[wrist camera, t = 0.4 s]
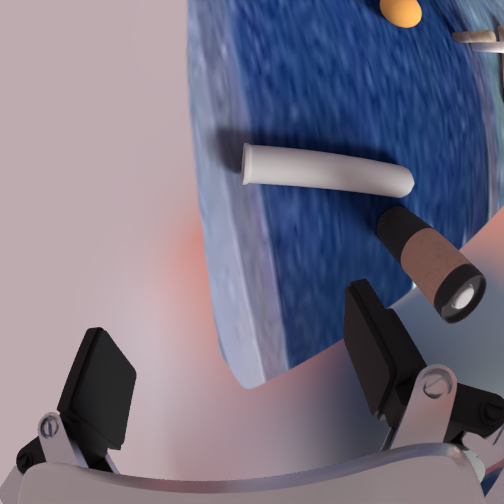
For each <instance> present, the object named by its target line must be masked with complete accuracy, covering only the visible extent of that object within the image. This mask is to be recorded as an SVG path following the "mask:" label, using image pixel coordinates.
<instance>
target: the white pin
mask: <svg viewBox="0 0 504 504" xmlns="http://www.w3.org/2000/svg"><path fill="white" fill-rule="evenodd" d="M470 46H471V48H472V50H473V51H475V52H498V53H504V42H471V43H470Z"/></svg>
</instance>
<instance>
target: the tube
mask: <svg viewBox="0 0 504 504" xmlns="http://www.w3.org/2000/svg"><path fill="white" fill-rule="evenodd" d="M241 180H242V184H243V185H247V183H261V184H277V185H291V186H304V187H315V188H325V189H335V190H344V191H353V192H361V193H369V194H377V195H384V196H391V197H398V198H401V197H403V196H405V195H407V194H408V193H410V192H411V190H412V187H413V185H414V180H413V177H412V174H411V173H410V171H409V170H408V169H407V168H405V167H403V166H400V165H395V164H390V163H385V162H380V161H375V160H370V159H365V158H359V157H353V156H347V155H341V154H334V153H327V152H319V151H312V150H303V149H294V148H284V147H273V146H260V145H250V144H249V143H244V147H243V156H242V173H241Z"/></svg>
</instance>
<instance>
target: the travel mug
mask: <svg viewBox="0 0 504 504" xmlns="http://www.w3.org/2000/svg"><path fill="white" fill-rule="evenodd" d="M377 234H378V237H379V239H380V240H381V242H382V243H383V244H384V245H385V247H386V248H387V249H388V250H389V252H390V253H391V254H392V255H393V257H394V258H395V259H396V260H397V262H398V263H399V264H400V266H401V267H402V268H403V270H404V271H405V272H406V273H407V274H408V276H409V277H410V278H411V279H412V280H413V282H414V283H415V284H416V285H417V286H418V288H419V289H420V290H421V291H422V293H423V294H424V295H425V296H426V298H427V299H428V300H429V302H430V303H431V304H432V305H433V307H434V308H435V309H436V311H437V312H438V313H439V314H440V316H441V317H442V319H443V320H444V321H445V322H446V323H448V324H454V323H457V322H459V321H461V320H463V319H464V318H466V317H467V316H468V315H469V314H470V313H471V312H472V311H473V310H474V309H475V308H476V307H477V305H478V304H479V302H480V301H481V299H482V298H483V295H484V293H485V290H486V284H487V282H486V279H485V277H484V275H483V274H482V273H481V272H480V271H479V270H478V269H477V268H476V267H475V266H474V265H473V264H472V263H471V262H470V261H469V260H468V259H466V257H465V256H464V255H463V254H462V253H460V252H459V251H458V250H457V249H456V248H455V247H454V246H453V245H452V244H451V243H450V242H449V241H447V240H446V239H445V238H444V237H443V236H442V235H441V234H440V233H438V232H437V231H436V230H435V229H434V228H432V227H431V226H430V225H428V224H427V223H426V222H424V221H423V220H422V219H420V218H419V217H417V216H416V215H415V214H413V213H412V212H411V211H409V210H408V209H406V208H404V207H401V206H394V207H391V208H389V209H388V210H387V211H385V212H384V213H383V215H382V216H381V217H380V219H379V222H378V225H377Z"/></svg>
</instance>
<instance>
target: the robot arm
mask: <svg viewBox="0 0 504 504" xmlns="http://www.w3.org/2000/svg"><path fill="white" fill-rule="evenodd" d="M344 342H345V345H346V347H347V350H348V353H349V355H350V358H351V360H352V363H353V366H354V368H355V371H356V373H357V376H358V379H359V381H360V384H361V387H362V389H363V392H364V395H365V398H366V400H367V403H368V406H369V408H370V411H371V414H372V415H373V416H376V415H377V417H378V420H379V421H381V420H384V419H386V420H387V422H388V425H389V426H390V427H391V428H390V431H389V433H388V435H387V438H386V440H385V442H384V444H383V446H382V448H381V450H380V452H379V453H375V454H372V455H368V456H365V457H361V458H358V459H354V460H351V461H347V462H343V463H339V464H335V465H331V466H327V467H322V468H318V469H313V470H308V471H303V472H298V473H292V474H286V475H280V476H272V477H264V478H255V479H244V480H227V481H180V480H164V479H152V478H143V477H135V476H128V475H121V474H120V473H119V471H118V470H117V468H116V466H115V465H114V463H113V461H112V460H111V458H110V456H109V454H108V452H107V450H108V448H110V449H115V450H121V445H122V444H123V443H124V439H125V433H126V427H127V420H128V416H129V410H130V405H131V399H132V395H133V390H134V385H135V381H136V371H135V369H134V368H133V366H132V365H131V364H130V362H129V361H128V360H127V359H126V357H125V356H124V355H123V353H122V352H121V351H120V349H119V348H118V347H117V345H116V344H115V342H114V341H113V340H112V338H111V337H110V335H109V334H108V333H107V331H105V330H104V329H103V328H101V327H97V328H89V329H88V330H87V331H86V334H85V336H84V338H83V340H82V343H81V345H80V347H79V350H78V352H77V355H76V357H75V360H74V362H73V365H72V367H71V370H70V372H69V375H68V378H67V380H66V384H65V386H64V389H63V392H62V395H61V398H60V401H59V404H58V407H57V410H58V411H59V412H60V415H58V414H57V413H54V412H49V413H47V414H45V415H44V416H43V417H42V419H41V420H40V422H39V425H38V435H39V436H37V437H36V438H35V439H34V440H32V441H31V442H30V443H29V444H27V445H26V446H25V447H23V448H22V449H21V450H20V451H19V453H18V455H17V458H16V464H17V466H14V468H13V469H12V471H11V472H10V474H9V475H8V477H7V478H6V480H5V481H4V483H3V484H2V486H1V488H0V499H1V501H2V503H3V504H504V399H503V398H502V397H501V396H499V395H497V394H495V393H491V392H487V391H484V390H480V389H477V388H473V387H470V386H466V385H463V384H460V383H457V380H456V377H455V375H454V373H453V372H452V371H451V370H450V369H449V368H448V367H446V366H443V365H438V364H435V365H429V366H427V365H426V363H425V361H424V360H423V358H422V356H421V354H420V353H419V351H418V349H417V347H416V346H415V344H414V342H413V340H412V339H411V337H410V335H409V334H408V332H407V330H406V329H405V327H404V325H403V324H402V322H401V321H400V319H399V317H398V316H397V314H396V313H395V311H394V310H393V309H391V308H388V309H385V308H384V306H383V304H382V303H381V301H380V299H379V298H378V296H377V295H376V293H375V291H374V290H373V288H372V287H371V285H370V284H369V282H368V281H367V279H361V280H357V281H353V282H350V286H349V287H346V290H345V317H344ZM462 450H466V451H468V450H471V451H473V452H474V453H475V454H477V455H478V456H477V458H478V459H480V460H481V461H482V462H483V463H484V465H485V469H486V471H485V476H484V478H483V480H482V481H481V483H480V482H479V479H478V477H477V475H476V472H475V470H474V468H473V466H472V464H471V462H470V461H469V459H468V458H467V456H466V455H465V453H464V452H463V451H462Z"/></svg>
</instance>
